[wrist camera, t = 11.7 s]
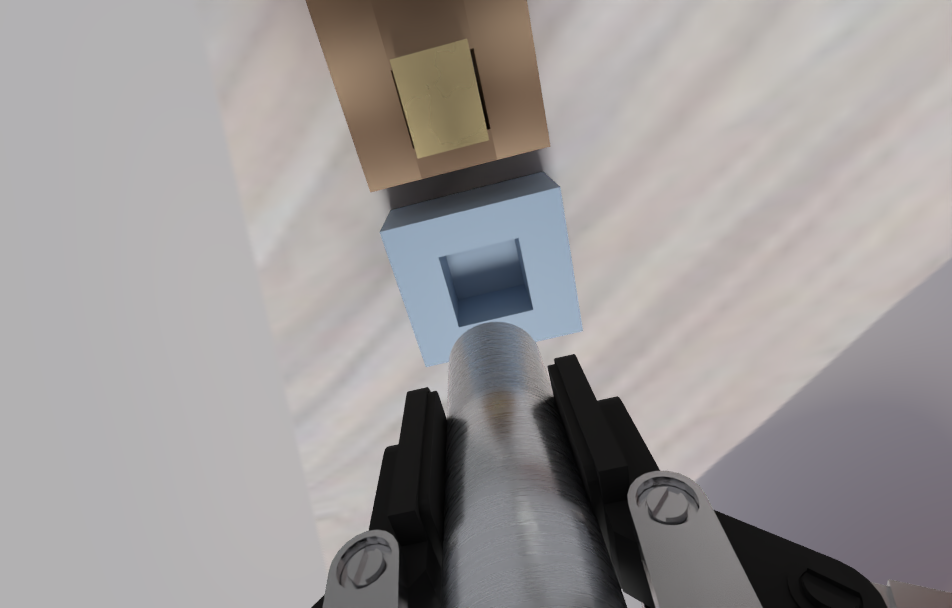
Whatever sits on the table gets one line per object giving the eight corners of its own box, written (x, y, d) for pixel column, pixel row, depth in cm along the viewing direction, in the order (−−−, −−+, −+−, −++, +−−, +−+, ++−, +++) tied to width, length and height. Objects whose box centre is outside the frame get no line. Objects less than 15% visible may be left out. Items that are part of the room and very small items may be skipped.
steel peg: (438, 333, 14) (405, 722, 5) (530, 311, 14) (664, 674, 5) (461, 409, 16) (467, 838, 6) (547, 390, 15) (681, 802, 6)
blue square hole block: (390, 210, 29) (379, 231, 25) (543, 171, 29) (560, 186, 24) (429, 329, 33) (425, 367, 29) (564, 297, 33) (582, 331, 28)
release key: (400, 64, 25) (389, 59, 21) (464, 47, 25) (467, 38, 20) (423, 147, 27) (417, 158, 22) (483, 131, 27) (489, 140, 22)
